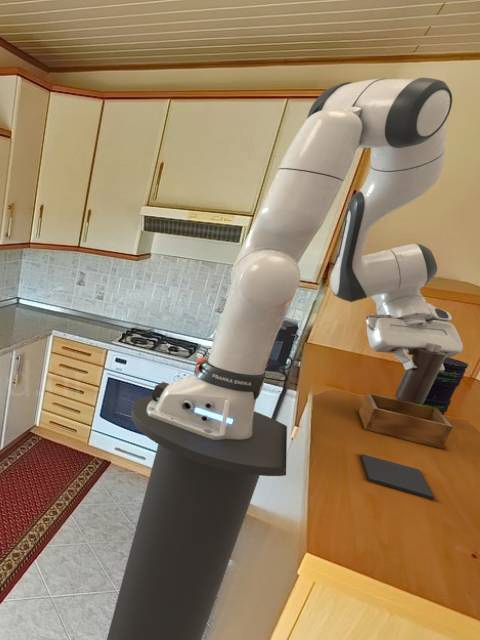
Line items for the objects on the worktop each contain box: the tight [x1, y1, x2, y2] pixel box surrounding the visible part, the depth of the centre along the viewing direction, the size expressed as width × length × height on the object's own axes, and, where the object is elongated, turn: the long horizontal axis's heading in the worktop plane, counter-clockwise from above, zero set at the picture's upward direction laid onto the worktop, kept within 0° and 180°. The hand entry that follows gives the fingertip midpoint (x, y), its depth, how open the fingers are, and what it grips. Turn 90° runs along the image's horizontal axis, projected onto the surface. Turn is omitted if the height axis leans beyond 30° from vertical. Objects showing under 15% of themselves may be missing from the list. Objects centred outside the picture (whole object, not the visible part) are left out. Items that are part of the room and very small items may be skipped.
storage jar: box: [396, 357, 469, 417], centre depth 123 cm, size 10×10×15 cm
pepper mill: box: [394, 343, 447, 404], centre depth 109 cm, size 5×5×13 cm
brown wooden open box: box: [358, 392, 454, 450], centre depth 113 cm, size 14×14×5 cm
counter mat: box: [360, 453, 435, 500], centre depth 90 cm, size 9×12×1 cm
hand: (425, 370), depth 108 cm, fingers closed on pepper mill, 5 cm apart
